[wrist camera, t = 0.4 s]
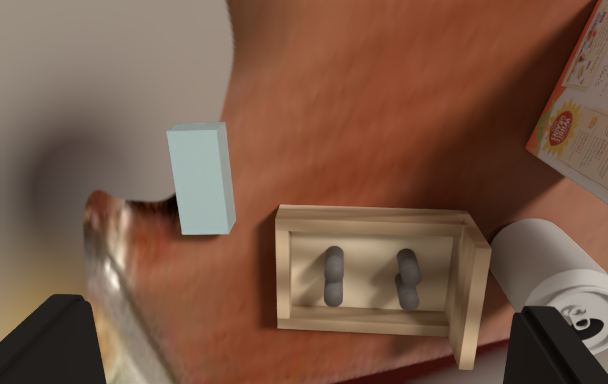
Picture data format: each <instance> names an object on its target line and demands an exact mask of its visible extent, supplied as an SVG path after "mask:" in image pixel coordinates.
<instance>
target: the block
mask: <svg viewBox="0 0 608 384" xmlns="http://www.w3.org/2000/svg"><path fill="white" fill-rule="evenodd" d="M166 133H167V139H168V146H169V151H170V159H171V165H172V171H173V178H174V184H175V191H176V197H177V204H178V210H179V217H180V223H181V229H182V235H198V234H229V233H230V231H231V229H232V227H233V225H234V223H235V221H236V215H235V206H234V197H233V188H232V179H231V170H230V161H229V152H228V143H227V134H226V125H225V122H197V123H179V124H177V125H176V126H174V127H173V128H171V129H169V130H168V131H167V132H166Z"/></svg>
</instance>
